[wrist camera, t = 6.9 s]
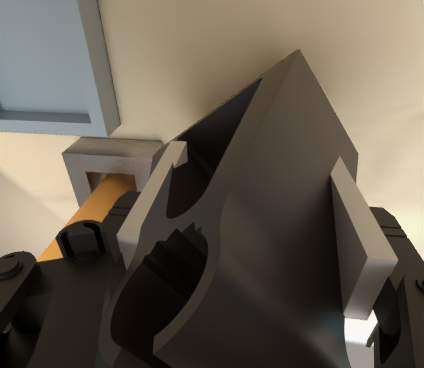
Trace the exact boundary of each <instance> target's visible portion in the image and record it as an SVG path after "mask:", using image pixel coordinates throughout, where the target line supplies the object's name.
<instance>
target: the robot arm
mask: <svg viewBox="0 0 424 368" xmlns="http://www.w3.org/2000/svg"><path fill="white" fill-rule="evenodd" d="M186 162H188V159H187V142H185V141H171V142H170V144H169V145H168V147H167V149H166V150H165V152H164V154H163V156H162V157H161V159H160V161H159V163H158V164H157V166H156V168H155V169H154V171H153V173H152V175H151V176H150V178H149V180H148V182H147V183H146V185H145V187H144V189H143V190H142V192H137V191H127V192H126V193H124V194H123V195H122V196H120V197H119V198H118V199H117V200H116V202H115V203H114V205H113V206H112V208H111V209H110V211H109V212H108V215H106V217H105V218H104V219H103V221H102V222H99V221H95V220H81V221H77V222H74V223H72V224H70V225H68V226H66V227H65V228H63V229H62V230H61V231H60V232H59V233H58V235H57V236H56V238H55V239H56V241H57V244H58V246H59V248H60V251H61V253H62V256H63V258H58V259H52V260H46V261H40V262H37V260H36V258H35V257H34V256H33V255H32V254H31V253H29V252H24V251H22V252H13V253H10V254H7V255H4V256H2V257H1V258H0V368H113V367H111V366H110V365H108V364H107V363H106V362H105V361H104V360H103V359H102V357H101V355H100V351H99V333H100V328H101V324H102V320H103V317H104V314H105V312H106V309H107V307H108V305H109V303H110V300H111V299H112V297H113V295H114V293H115V291H116V289H117V288H118V286H119V284H120V282H121V281H122V279H123V277H124V275H125V273H126V271H127V269H128V267H129V265H130V263H131V261H132V258H133V256H134V253H135V251H136V248H137V244H138V240H139V235H140V229H141V226H142V224H143V222H144V220H145V218H146V216H147V214H148V211H149V209H150V207H151V205H152V203H153V201H154V199H155V197H156V195H157V193H158V191H159V189H160V187H161V185H162V183H163V181H164V179H165V177H166V175H167V173H168V171H169V169H170V167H171V165H172V163H173V165H174V168H176V167H178V166H180V165H182V164H184V163H186ZM330 175H331V185H332V196H333V207H334V218H335V229H336V240H337V251H338V262H339V273H340V284H341V294H342V305H343V314H344V316H345V318H352V319H361V320H367V319H368V317H369V315H370V313H371V312H372V310H374V313H375V315H376V318H377V320H378V322H377V324H376V326H375V328H374V330H373V331H372V333H371V335H370V337H369V338H368V340H367V344H366V347H369V348H370V347H371V345H372V343H373V342H374V368H424V261H423V260H422V258H421V257H420V255H419V254H418V252H417V251H416V249H415V247H414V246H413V244H412V243H411V241H410V240H409V238H407V235H406V234H405V232H404V231H403V230H402V229H401V226H400V225H399V223H398V222H397V220H396V219H395V217H394V216H393V215H391V214H390V213H389V212H388V211H386V210H385V209H384V208H379V207H368V205H367V203H366V201H365V200H364V198H363V196H362V194H361V192H360V191H359V189H358V187H357V185H356V184H355V182H354V180H353V178H352V176H351V175H350V173H349V171H348V169H347V168H346V166H345V164H344V162H343V160H342V159H341V157H340V156H339V158H338V160H337V162H336V164H335V166H334V168H333V170H332V172H331V174H330Z"/></svg>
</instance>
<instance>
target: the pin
mask: <svg viewBox="0 0 424 368" xmlns="http://www.w3.org/2000/svg"><path fill="white" fill-rule="evenodd" d="M127 191H137V186H136V181H135V175H133V174H118V173H108V174H107V175H106V177H105V178H104V179H103V180H102V182H101V183H100V184H99V185H98V186H97V188H96V189H95V190H94V191H93V193H92V194H91V195H90V196H89V197H88V199H87V200H86V201H85V202H84V204H83V205H82V206H81V207H80V208H79V210H78V211H77V212H76V213H75V215H74V216H73V217H72V218H71V219H70V221H69V222H68V223H67V224H66V226H68V225H70V224H72V223H74V222H77V221H81V220H95V221H99V222H102V221H103V219H104V218H105V217H106V215H108V212H109V211H110V209H111V208H112V206H113V205H114V203H115V202H116V200H117V199H118V198H119V197H120V196H122V195H123V194H124V193H126V192H127ZM66 226H65V227H66ZM65 227H64V228H65ZM58 258H63V256H62V253H61V251H60V248H59V246H58V244H57V241H56V239H54V240H53V242H52V243H51V244H50V245H49V246H48V248H47V249H46V250H45V251H44V252H43V254H42V255H41V256H40V257H39V259H38V260H37V262H40V261H46V260H52V259H58Z"/></svg>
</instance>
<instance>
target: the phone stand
mask: <svg viewBox="0 0 424 368" xmlns="http://www.w3.org/2000/svg"><path fill="white" fill-rule="evenodd" d="M171 141H185V142H187V159H188V162H186V163H184V164H182V165H180V166H178V167H176V168H174V165H173V163H172V165H171V167H170V169H169V171H168V173H167V175H166V177H165V179H164V181H163V183H162V185H161V187H160V189H159V191H158V193H157V195H156V197H155V199H154V201H153V203H152V205H151V207H150V209H149V211H148V214H147V216H146V218H145V220H144V222H143V224H142V226H141V229H140V235H139V240H138V244H137V248H136V251H135V253H134V256H133V258H132V261H131V263H130V265H129V267H128V269H127V271H126V273H125V275H124V277H123V279H122V281H121V282H120V284H119V286H118V288H117V289H116V291H115V293H114V295H113V297H112V299H111V300H110V303H109V305H108V307H107V309H106V312H105V314H104V317H103V320H102V324H101V328H100V333H99V351H100V355H101V357H102V359H103V360H104V361H105V362H106V363H107V364H108V365H110V366H111V367H113V368H351V366H350V363H349V360H348V356H347V352H346V346H345V337H344V321H345V316H344V314H343V305H342V294H341V284H340V273H339V262H338V251H337V240H336V229H335V218H334V207H333V196H332V185H331V175H330V174H331V172H332V170H333V168H334V166H335V164H336V162H337V160H338V158H339V156H340V157H341V159H342V160H343V162H344V164H345V166H346V168H347V169H348V171H349V173H350V175H351V176H352V178H353V180H354V182H355V184H356V176H357V164H358V152H357V151H356V149H355V147H354V145H353V144H352V142H351V140H350V138H349V136H348V135H347V133H346V131H345V129H344V128H343V126H342V124H341V122H340V120H339V119H338V117H337V115H336V113H335V112H334V110H333V108H332V106H331V104H330V103H329V101H328V99H327V97H326V96H325V94H324V92H323V90H322V88H321V87H320V85H319V83H318V81H317V79H316V78H315V76H314V74H313V72H312V71H311V69H310V67H309V65H308V63H307V62H306V60H305V58H304V56H303V55H302V53H301V51H300V50H296V51H295V52H293V53H291V54H290V55H289V56H287V57H286V58H285V59H283V60H282V61H280V62H279V63H278V64H276V65H275V66H273V67H272V68H271V69H269V70H268V71H267V72H265V73H264V74H262V75H261V76H260V77H258V78H257V79H256V80H254V81H253V82H251V83H250V84H249V85H247V86H246V87H244V88H243V89H242V90H240V91H239V92H238V93H236V94H235V95H233V96H232V97H231V98H229V99H228V100H227V101H225V102H224V103H222V104H221V105H220V106H219V107H218V108H217V109H214V110H213V111H211V112H210V113H209V114H207V115H206V116H204V117H203V118H202V119H200V120H199V121H198V122H196V123H195V124H193V125H192V126H191V127H189V128H188V129H187V130H185V131H184V132H182V133H181V134H180V135H178V136H177V137H175V138H174V139H173V140H171ZM171 141H170V142H171ZM170 142H169V143H167V144H166V145H164V146H163V147H162V148H160V149H159V150H158V151H157V152H156V153H155V154H154V155H153V158H152V163H151V169H150V175H149V178H150V176H151V175H152V173H153V171H154V169H155V168H156V166H157V164H158V163H159V161H160V159H161V157H162V156H163V154H164V152H165V150H166V149H167V147H168V145H169V144H170Z"/></svg>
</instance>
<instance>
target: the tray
mask: <svg viewBox="0 0 424 368" xmlns="http://www.w3.org/2000/svg"><path fill="white" fill-rule="evenodd" d="M119 126H120V119H119V114H118V109H117V103H116V98H115V93H114V88H113V82H112V77H111V72H110V66H109V61H108V56H107V50H106V45H105V40H104V35H103V29H102V24H101V19H100V13H99V8H98V3H97V0H0V132H14V133H34V134H54V135H73V136H93V137H108V136H109V135H110V134H111V133H112V132H113V131H114V130H115V129H116V128H117V127H119Z"/></svg>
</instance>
